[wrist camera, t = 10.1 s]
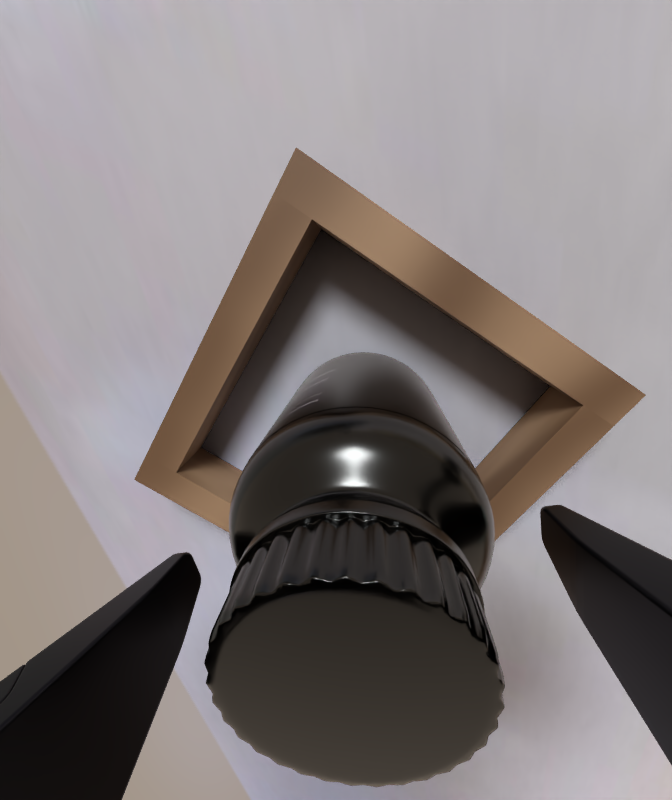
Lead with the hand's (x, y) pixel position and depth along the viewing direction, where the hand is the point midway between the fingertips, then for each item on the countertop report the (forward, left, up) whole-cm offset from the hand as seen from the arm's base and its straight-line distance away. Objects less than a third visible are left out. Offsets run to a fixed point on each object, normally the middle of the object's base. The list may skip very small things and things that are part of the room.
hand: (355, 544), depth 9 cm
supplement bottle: (0, 0, -9) cm, 9 cm away
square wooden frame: (0, 0, -8) cm, 8 cm away
